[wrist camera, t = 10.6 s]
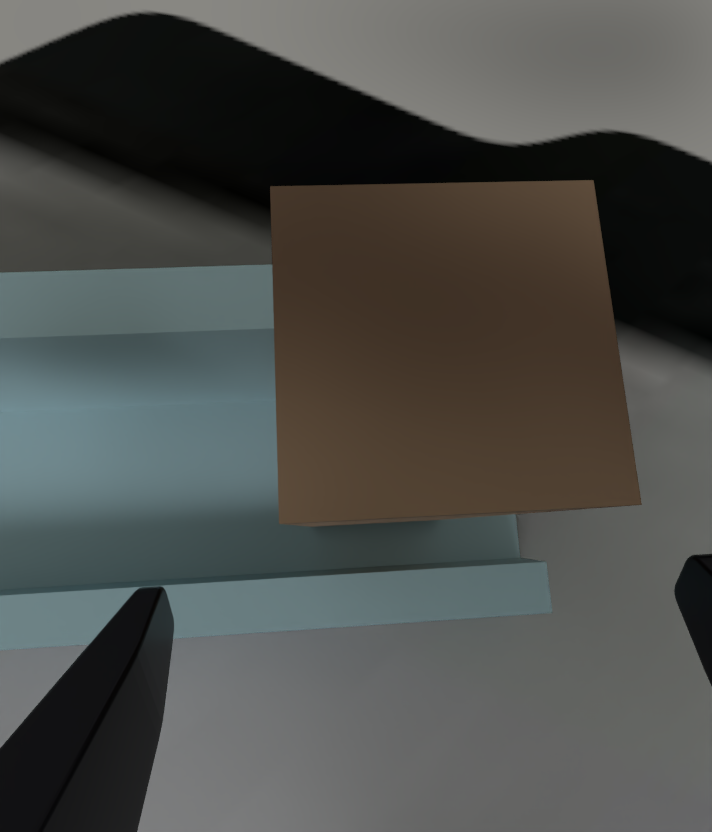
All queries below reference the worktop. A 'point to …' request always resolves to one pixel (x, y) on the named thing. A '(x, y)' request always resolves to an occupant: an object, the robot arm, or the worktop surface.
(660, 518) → the worktop surface
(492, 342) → the walnut box
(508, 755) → the worktop surface
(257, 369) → the backboard channel
